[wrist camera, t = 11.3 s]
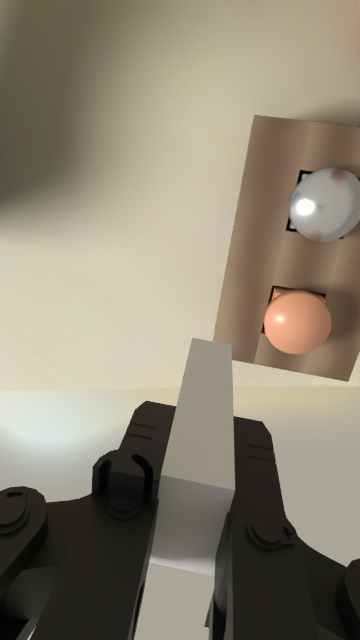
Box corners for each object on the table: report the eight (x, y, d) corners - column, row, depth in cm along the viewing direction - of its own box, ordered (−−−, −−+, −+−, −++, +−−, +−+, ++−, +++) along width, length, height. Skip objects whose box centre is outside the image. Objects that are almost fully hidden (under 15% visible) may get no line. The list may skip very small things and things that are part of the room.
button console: (215, 327, 43) (210, 355, 35) (251, 131, 35) (254, 114, 27) (328, 347, 41) (348, 381, 34) (393, 148, 33) (438, 136, 26)
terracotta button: (255, 319, 38) (258, 347, 31) (266, 270, 36) (272, 289, 29) (305, 327, 37) (321, 359, 30) (319, 279, 35) (340, 300, 28)
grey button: (274, 227, 35) (283, 236, 28) (287, 169, 33) (300, 163, 26) (329, 235, 35) (352, 246, 28) (346, 177, 33) (375, 173, 26)
